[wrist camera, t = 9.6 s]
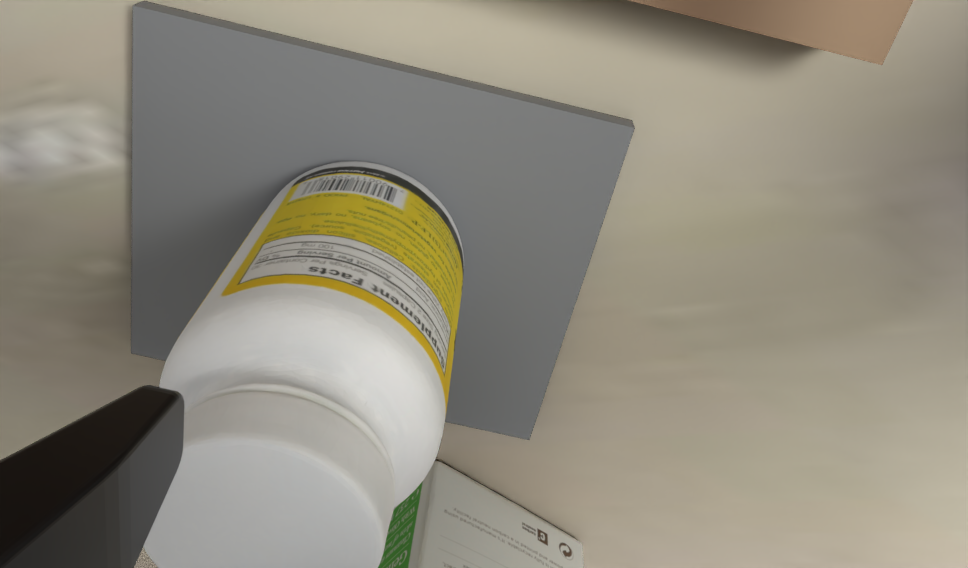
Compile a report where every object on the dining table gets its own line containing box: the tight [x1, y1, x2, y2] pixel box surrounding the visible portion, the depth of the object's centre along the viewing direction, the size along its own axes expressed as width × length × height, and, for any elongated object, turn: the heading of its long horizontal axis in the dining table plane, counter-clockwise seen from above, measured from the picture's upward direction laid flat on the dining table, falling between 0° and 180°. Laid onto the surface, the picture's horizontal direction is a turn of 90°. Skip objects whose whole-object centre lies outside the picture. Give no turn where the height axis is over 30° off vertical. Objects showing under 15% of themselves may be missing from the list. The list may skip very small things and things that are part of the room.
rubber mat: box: [131, 1, 635, 440], centre depth 21 cm, size 12×10×1 cm
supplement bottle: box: [143, 161, 464, 568], centre depth 17 cm, size 5×5×10 cm
